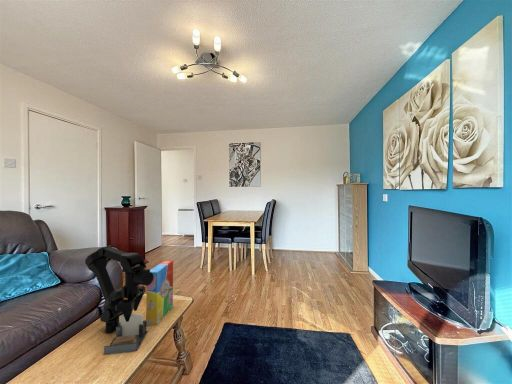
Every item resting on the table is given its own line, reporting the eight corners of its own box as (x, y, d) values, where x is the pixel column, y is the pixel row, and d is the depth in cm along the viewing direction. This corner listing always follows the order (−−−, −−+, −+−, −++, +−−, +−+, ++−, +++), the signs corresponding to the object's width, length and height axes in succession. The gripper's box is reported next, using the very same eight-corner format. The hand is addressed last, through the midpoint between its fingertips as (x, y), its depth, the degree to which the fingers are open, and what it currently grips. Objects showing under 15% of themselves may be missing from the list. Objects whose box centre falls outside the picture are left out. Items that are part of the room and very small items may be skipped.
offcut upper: (116, 341, 95) (116, 337, 95) (135, 338, 97) (135, 334, 97) (113, 346, 92) (113, 342, 92) (132, 343, 94) (132, 339, 94)
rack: (118, 335, 104) (118, 322, 104) (148, 332, 106) (148, 320, 106) (102, 357, 90) (102, 342, 90) (137, 353, 92) (137, 338, 92)
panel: (121, 334, 103) (121, 314, 103) (142, 332, 105) (142, 313, 105) (120, 336, 102) (120, 316, 102) (141, 334, 103) (141, 314, 103)
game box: (156, 328, 110) (156, 272, 110) (145, 327, 110) (145, 272, 110) (173, 306, 131) (173, 260, 131) (163, 306, 131) (164, 260, 131)
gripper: (122, 275, 111) (121, 307, 111) (102, 291, 93) (101, 329, 93) (145, 274, 113) (145, 305, 113) (131, 290, 95) (130, 327, 95)
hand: (131, 315), depth 103 cm, fingers open, 9 cm apart
